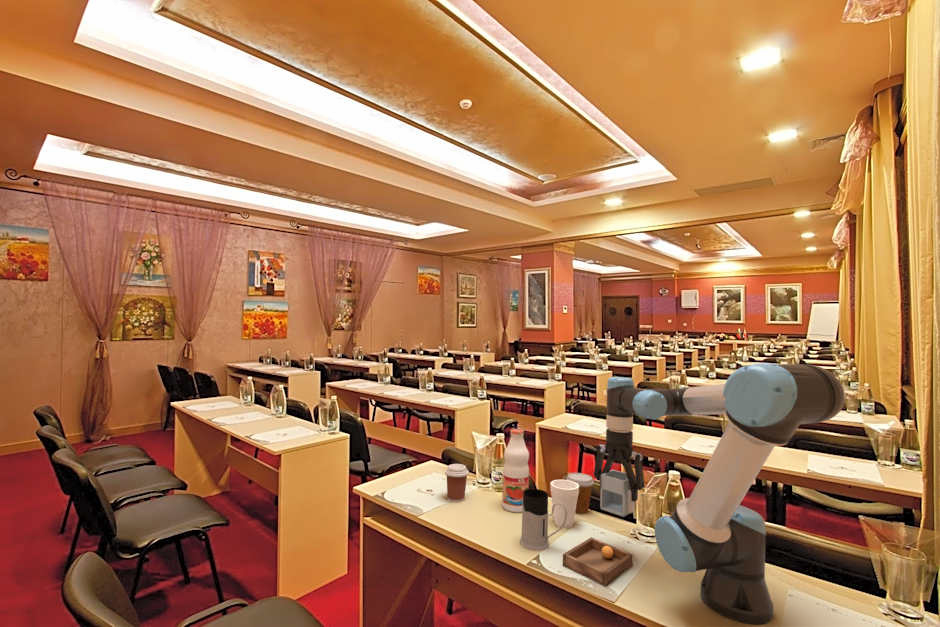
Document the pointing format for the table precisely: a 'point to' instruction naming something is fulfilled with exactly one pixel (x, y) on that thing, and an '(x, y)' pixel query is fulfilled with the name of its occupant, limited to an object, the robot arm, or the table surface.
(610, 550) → the ball
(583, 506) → the disposable coffee cup
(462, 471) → the coffee cup
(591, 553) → the tray
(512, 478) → the fruit juice
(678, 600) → the table surface
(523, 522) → the grey mug
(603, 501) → the grey frame
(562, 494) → the foam cup
